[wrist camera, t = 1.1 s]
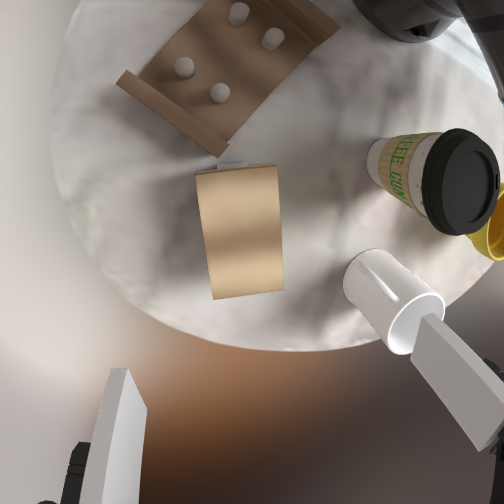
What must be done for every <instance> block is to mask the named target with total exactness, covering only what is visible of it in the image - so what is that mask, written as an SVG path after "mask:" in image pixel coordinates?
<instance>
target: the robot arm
mask: <svg viewBox="0 0 504 504" xmlns="http://www.w3.org/2000/svg"><path fill="white" fill-rule="evenodd" d="M353 1H354V2H355V4H356V5H357V7H358V8H359V10H360V11H361V12H362V13H363V14H364V15H365V17H366V18H367V19H368V20H369V21H371V22H372V23H373V24H374V25H375V26H376V27H378V28H379V29H380V30H382V31H383V32H385V33H386V34H388V35H390V36H392V37H394V38H396V39H399V40H401V41H405V42H410V43H420V42H424V41H428V40H431V39H434V38H436V37H438V36H439V35H440V34H442V33H443V32H444V31H445V30H446V29H447V28H448V27H449V26H450V25H451V24H452V23H453V22H454V21H455V20H456V19H457V18H459V17H463V16H464V18H465V20H466V22H467V23H468V25H469V27H470V29H471V31H472V33H473V35H474V37H475V39H476V41H477V43H478V45H479V47H480V49H481V51H482V53H483V55H484V58H485V60H486V62H487V64H488V67H489V69H490V72H491V74H492V76H493V79H494V81H495V84H496V87H497V89H498V96H499V99H500V101H501V103H502V104H503V106H504V0H353ZM410 360H411V361H412V363H413V364H414V365H415V367H416V368H417V369H418V370H419V372H420V373H421V374H422V375H423V377H424V378H425V379H426V381H427V382H428V383H429V384H430V386H431V387H432V388H433V390H434V391H435V392H436V394H437V395H438V396H439V398H440V399H441V400H442V401H443V403H444V404H445V405H446V407H447V408H448V410H449V411H450V412H451V414H452V415H453V416H454V418H455V419H456V420H457V422H458V423H459V424H460V426H461V427H462V429H463V430H464V431H465V433H466V434H467V436H468V437H469V439H470V440H471V441H472V443H473V444H474V446H475V447H476V448H477V450H478V451H480V450H482V449H484V448H485V447H486V446H488V445H489V444H491V442H492V441H493V440H494V439H495V438H496V436H498V437H499V438H500V439H499V440H498V441H497V443H496V444H495V445H494V446H493V447H492V449H491V450H490V453H489V454H492V453H493V452H494V450H495V449H496V448H497V450H496V452H495V453H494V454H495V455H496V464H495V473H494V481H493V487H492V494H491V499H490V504H504V373H503V372H501V369H500V368H499V367H498V366H497V365H496V364H495V363H493V362H491V361H489V360H488V359H486V358H485V359H483V360H481V358H480V357H479V356H477V354H476V353H475V352H474V351H473V350H472V349H470V348H469V346H468V345H467V344H466V343H465V342H464V341H463V340H462V339H461V338H460V337H458V336H457V335H456V334H455V333H454V332H453V331H452V330H451V329H450V328H449V327H448V326H447V325H446V324H445V323H444V322H443V321H442V320H441V319H440V318H439V317H438V316H436V315H435V314H434V313H431V314H428V315H424V316H422V317H421V321H420V325H419V329H418V333H417V337H416V341H415V345H414V348H413V352H412V355H411V359H410ZM146 415H147V408H146V406H145V404H144V402H143V400H142V398H141V396H140V394H139V392H138V390H137V388H136V385H135V383H134V381H133V379H132V377H131V374H130V372H129V370H128V368H118V369H111V371H110V375H109V378H108V381H107V385H106V388H105V392H104V395H103V399H102V403H101V406H100V410H99V413H98V418H97V421H96V425H95V429H94V433H93V437H92V441H91V443H88V442H79V443H78V444H77V445H76V447H75V449H74V450H73V451H72V454H71V458H70V462H69V464H70V465H69V466H68V470H67V475H66V479H65V484H64V488H63V493H62V499H61V503H60V504H138V499H139V485H140V471H141V460H142V449H143V440H144V431H145V423H146ZM38 504H56V503H55V502H53V501H43V502H40V503H38Z"/></svg>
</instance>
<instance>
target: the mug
mask: <svg viewBox="0 0 504 504" xmlns="http://www.w3.org/2000/svg"><path fill="white" fill-rule="evenodd" d="M343 290H344V293H345V295H346V297H347V298H348V300H349V301H351V302H352V303H354V304H355V306H356V307H357V308H358V309H359V311H360V312H361V313H362V314H363V316H364V317H365V318H366V319H367V321H368V322H369V323H370V325H371V326H372V327H373V328H374V330H375V331H376V332H377V334H378V335H379V336H380V337H381V339H382V340H383V341H384V343H385V344H386V345H387V347H388V348H389V349H390V350H391V351H392V352H393V353H395V354H409V353H411V352H413V348H414V345H415V341H416V337H417V333H418V329H419V325H420V321H421V317H422V316H424V315H428V314H431V313H434V314H435V315H436V316H438V317H439V318H440V319H441V320H442V321H443V318H444V313H445V304H444V301H443V299H442V297H441V296H440V295H439V294H438V293H436V292H435V291H434V290H433V289H432V288H430V287H429V286H428V285H427V284H425V283H424V282H423V281H422V280H420V279H419V278H418V277H417V276H415V275H414V274H413V273H412V272H410V271H409V270H408V269H407V268H405V267H404V266H403V265H402V264H400V263H399V262H398V261H396V260H395V259H394V257H393V256H392V255H391V254H390V253H389V252H387V251H386V250H383V249H370V250H367V251H365V252H363V253H361V254H360V255H358V256H357V257H356V258H355V259H354V260H353V261H352V262H351V263H350V265H349V266H348V268H347V270H346V272H345V275H344V279H343Z"/></svg>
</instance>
